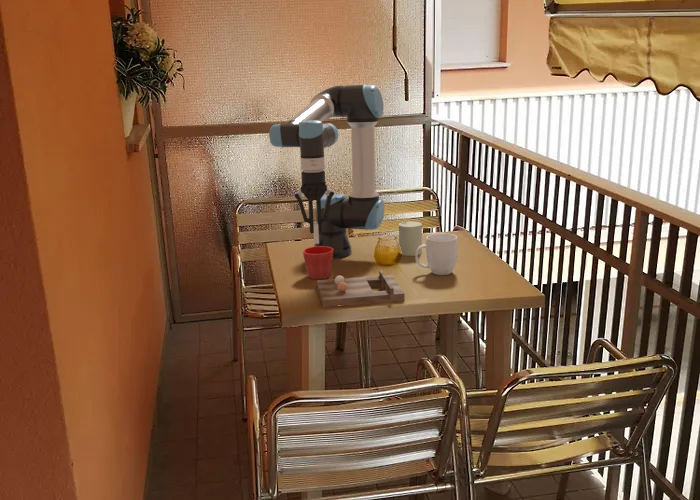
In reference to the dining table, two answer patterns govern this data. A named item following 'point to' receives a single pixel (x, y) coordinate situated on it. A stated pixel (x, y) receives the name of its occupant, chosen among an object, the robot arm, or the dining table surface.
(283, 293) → the dining table surface
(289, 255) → the dining table surface
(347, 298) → the board
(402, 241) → the can
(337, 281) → the ball white
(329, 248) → the flower pot
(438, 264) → the mug
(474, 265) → the dining table surface
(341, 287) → the ball terracotta
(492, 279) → the dining table surface
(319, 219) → the robot arm
